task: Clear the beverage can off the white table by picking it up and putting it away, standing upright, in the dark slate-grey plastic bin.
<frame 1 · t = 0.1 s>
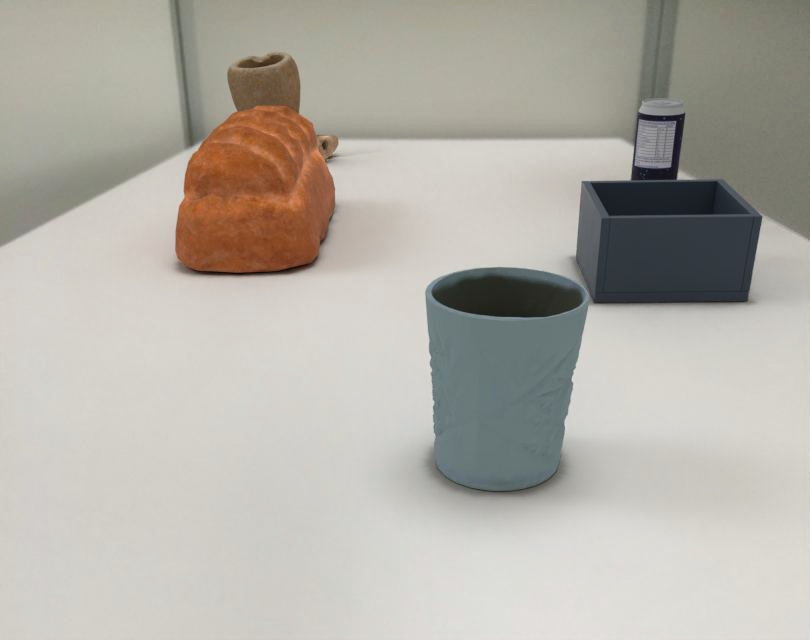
teal cup: (500, 462, 67), on the table
stone cup: (283, 162, 149), on the table
bread: (264, 235, 115), on the table
beverage can: (650, 204, 124), on the table
bin: (656, 278, 99), on the table
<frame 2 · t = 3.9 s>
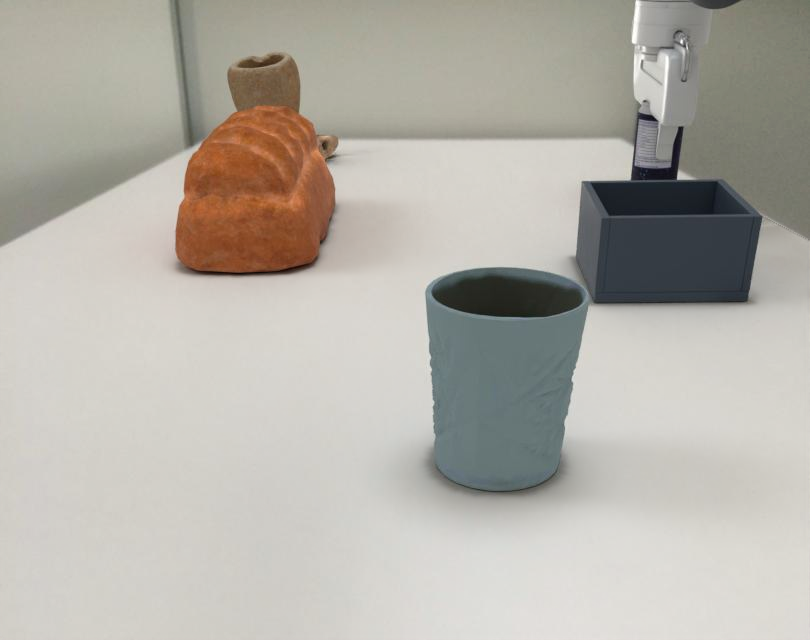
hand: (656, 152, 120), 6 cm above the table, tool pointing down, fingers closed on beverage can, 5 cm apart
beverage can: (650, 204, 124), on the table, touching gripper
everything else where it was.
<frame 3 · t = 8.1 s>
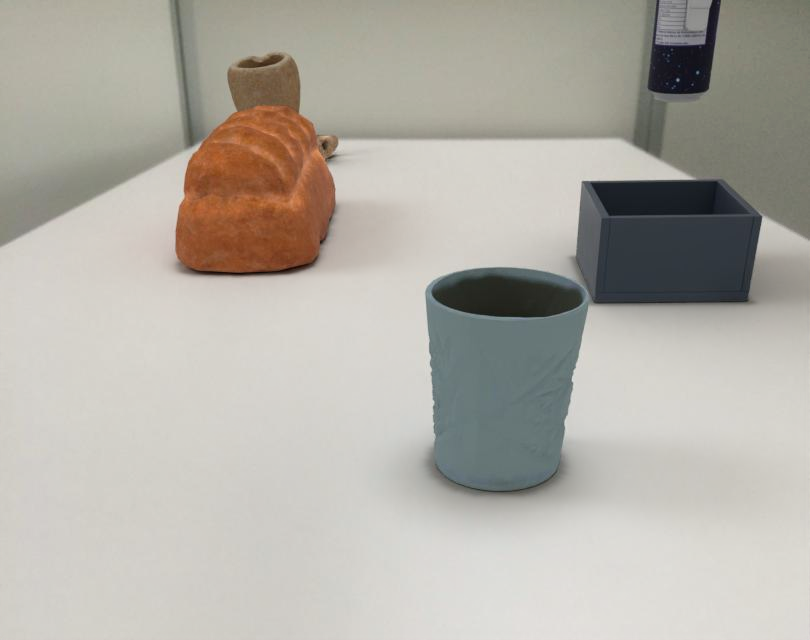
hand: (685, 26, 89), 23 cm above the table, tool pointing down, fingers closed on beverage can, 5 cm apart
beverage can: (676, 101, 92), point 16 cm above the table, touching gripper
everything else where it was.
when the fingers open (7 cm above the table, at t = 12.2 s): beverage can stays where it is, resting on bin.
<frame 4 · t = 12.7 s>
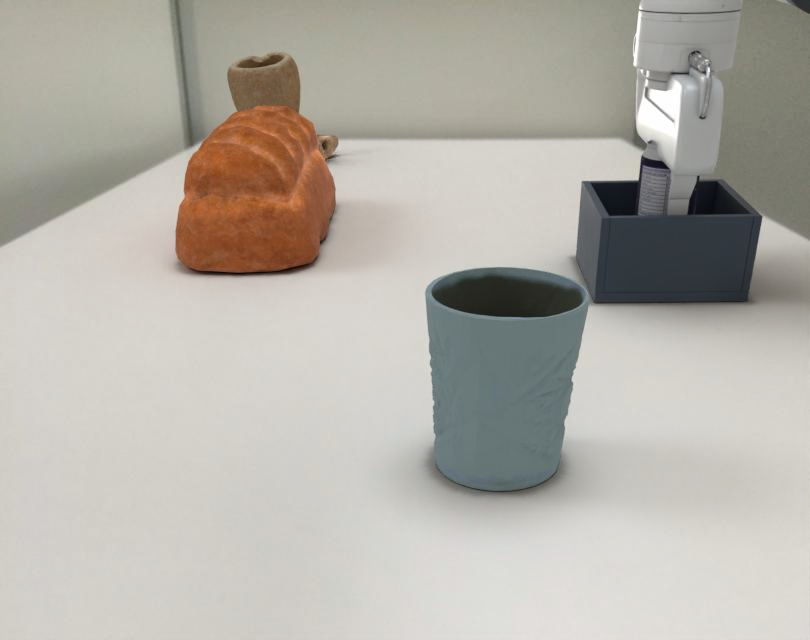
hand: (665, 203, 95), 7 cm above the table, tool pointing down, fingers open, 8 cm apart
beverage can: (657, 270, 98), point 1 cm above the table, touching bin
everything else where it was.
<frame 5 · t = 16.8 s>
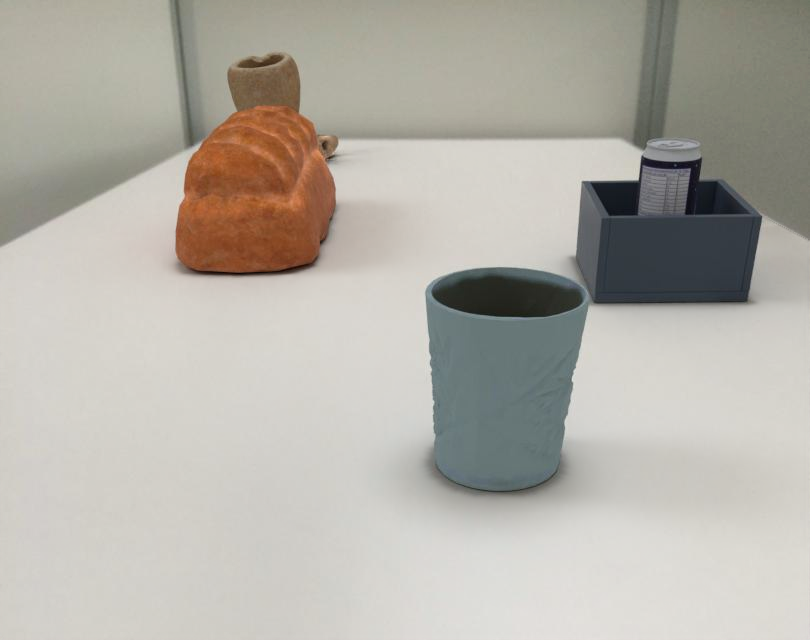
nothing on the table moved.
at the end: beverage can inside the target area in the bin (0.1 cm from its centre), point 0.8 cm above the bin's base; beverage can tilted 0°; the gripper is holding nothing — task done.
